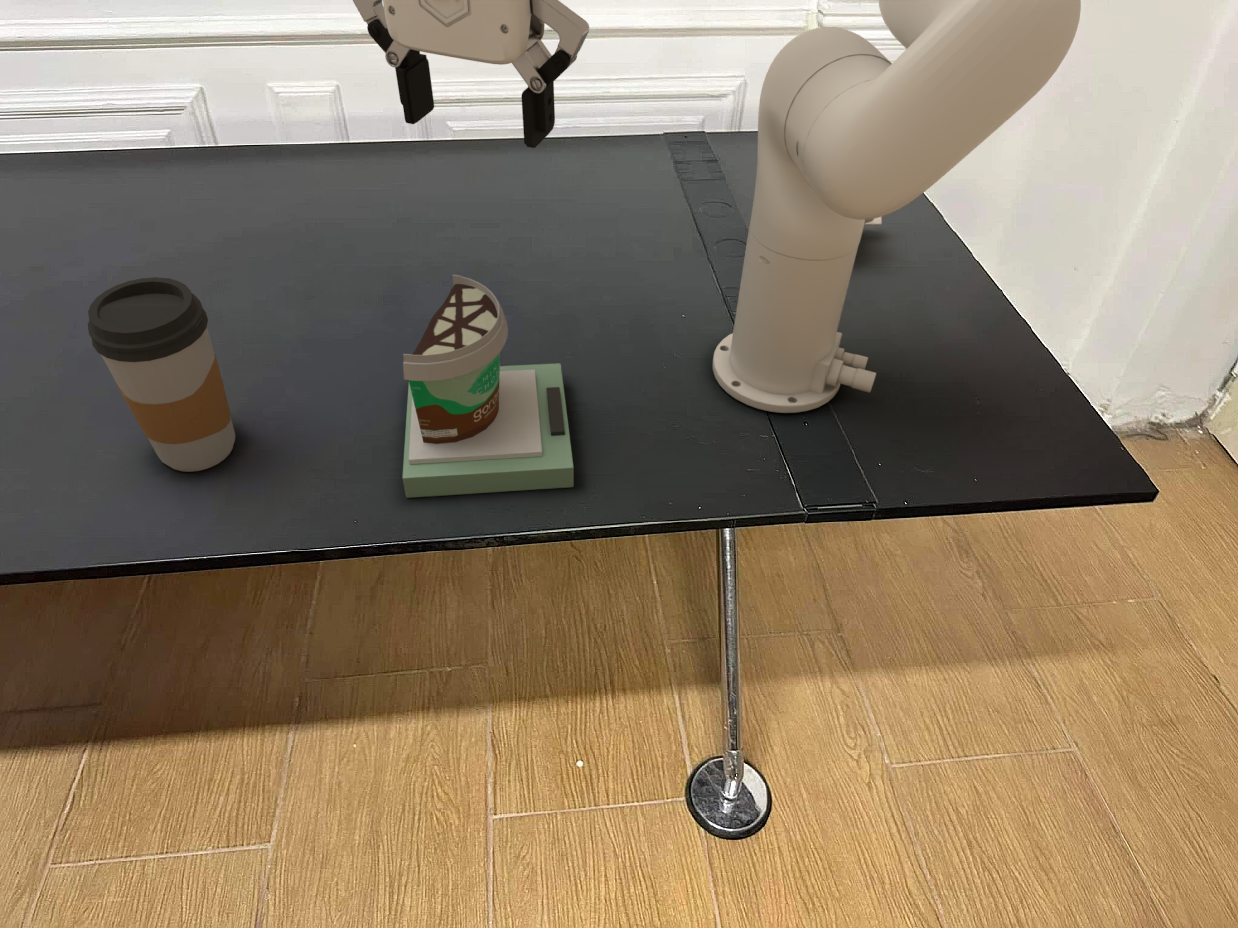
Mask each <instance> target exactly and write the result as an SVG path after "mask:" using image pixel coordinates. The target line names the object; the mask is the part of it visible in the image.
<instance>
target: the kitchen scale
mask: <svg viewBox="0 0 1238 928" xmlns="http://www.w3.org/2000/svg"><path fill="white" fill-rule="evenodd" d="M563 378H564V377H563V372H562V364H561V363H559V362H558V363H557V362H556V363H538V364H518V365H517V364H516V365H500V377H499V411H498V414H497V416H496V418H495V420H494V421H493V422H492V423H491V425H490V426H489V427H488V428H487V429H485V430H484V431H482V432H480V433H479V434H477V435H475V436H474V437H471V438H468V439H465V440H461V441H458V442H453V443H441V444H433V443H424V442H423V439H422V435H421V431H420V426H419V422H418V418H417V414H416V409H415V405H414V401H413V397H412V392H411V388H410V384H409V383H408V387H407V401H406V418H405V432H404V433H405V434H404V448H403V465H402V477H401V478H402V483H403V489H404V495H405V498H406V499H409V498H411V499H412V498H424V497H425V498H426V497H439V496H442V497H443V496H455V495H472V494H473V495H475V494H488V493H489V494H490V493H502V492H503V493H505V492H519V491H535V490H549V489H551V490H552V489H564V488H566V489H567V488H574V486H575V485H574V484H575V483H574V477H575V476H574V475H575V474H574V472H575V471H574V461H573V452H572V444H571V435H570V427H569V419H568V413H567V412H568V411H567V404H566V396H565V395H566V394H565V388H564V387H565V386H564V379H563Z"/></svg>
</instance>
